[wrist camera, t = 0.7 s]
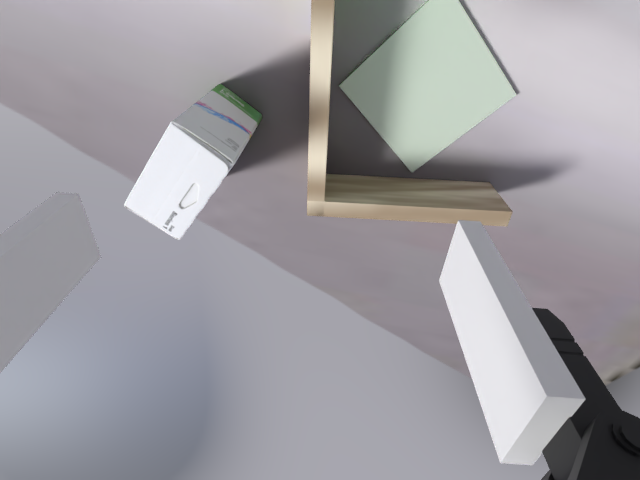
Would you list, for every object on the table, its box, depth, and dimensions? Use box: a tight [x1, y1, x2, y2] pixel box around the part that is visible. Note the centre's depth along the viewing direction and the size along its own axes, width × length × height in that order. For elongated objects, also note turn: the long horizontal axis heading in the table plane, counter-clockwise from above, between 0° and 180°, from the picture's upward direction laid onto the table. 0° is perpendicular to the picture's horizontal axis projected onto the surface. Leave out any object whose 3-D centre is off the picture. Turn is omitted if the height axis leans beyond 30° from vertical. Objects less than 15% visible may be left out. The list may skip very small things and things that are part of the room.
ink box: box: [124, 84, 262, 240], centre depth 31 cm, size 8×5×12 cm, turn 142°
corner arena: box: [307, 0, 512, 226], centre depth 31 cm, size 18×18×6 cm
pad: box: [339, 0, 516, 172], centre depth 33 cm, size 11×11×1 cm
